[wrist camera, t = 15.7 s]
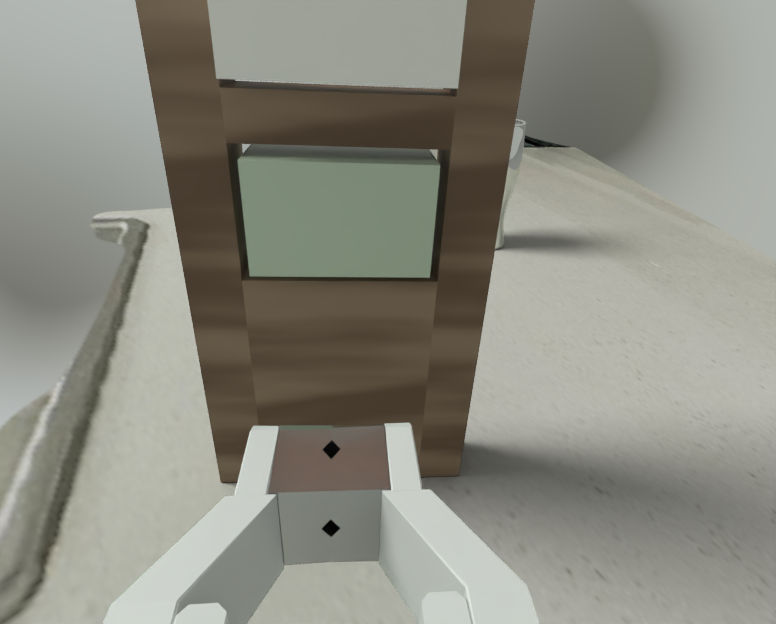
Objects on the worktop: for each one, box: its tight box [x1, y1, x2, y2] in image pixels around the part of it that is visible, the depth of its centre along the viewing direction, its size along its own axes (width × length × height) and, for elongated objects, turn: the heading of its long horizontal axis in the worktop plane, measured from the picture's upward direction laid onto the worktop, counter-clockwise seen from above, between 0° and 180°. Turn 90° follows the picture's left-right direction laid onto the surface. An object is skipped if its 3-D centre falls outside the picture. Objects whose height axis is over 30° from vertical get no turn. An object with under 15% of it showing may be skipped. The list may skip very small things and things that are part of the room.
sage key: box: [237, 144, 440, 278], centre depth 22 cm, size 4×8×5 cm, turn 94°
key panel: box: [135, 0, 535, 482], centre depth 21 cm, size 3×14×37 cm, turn 94°
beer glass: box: [495, 119, 526, 249], centre depth 61 cm, size 7×7×15 cm
